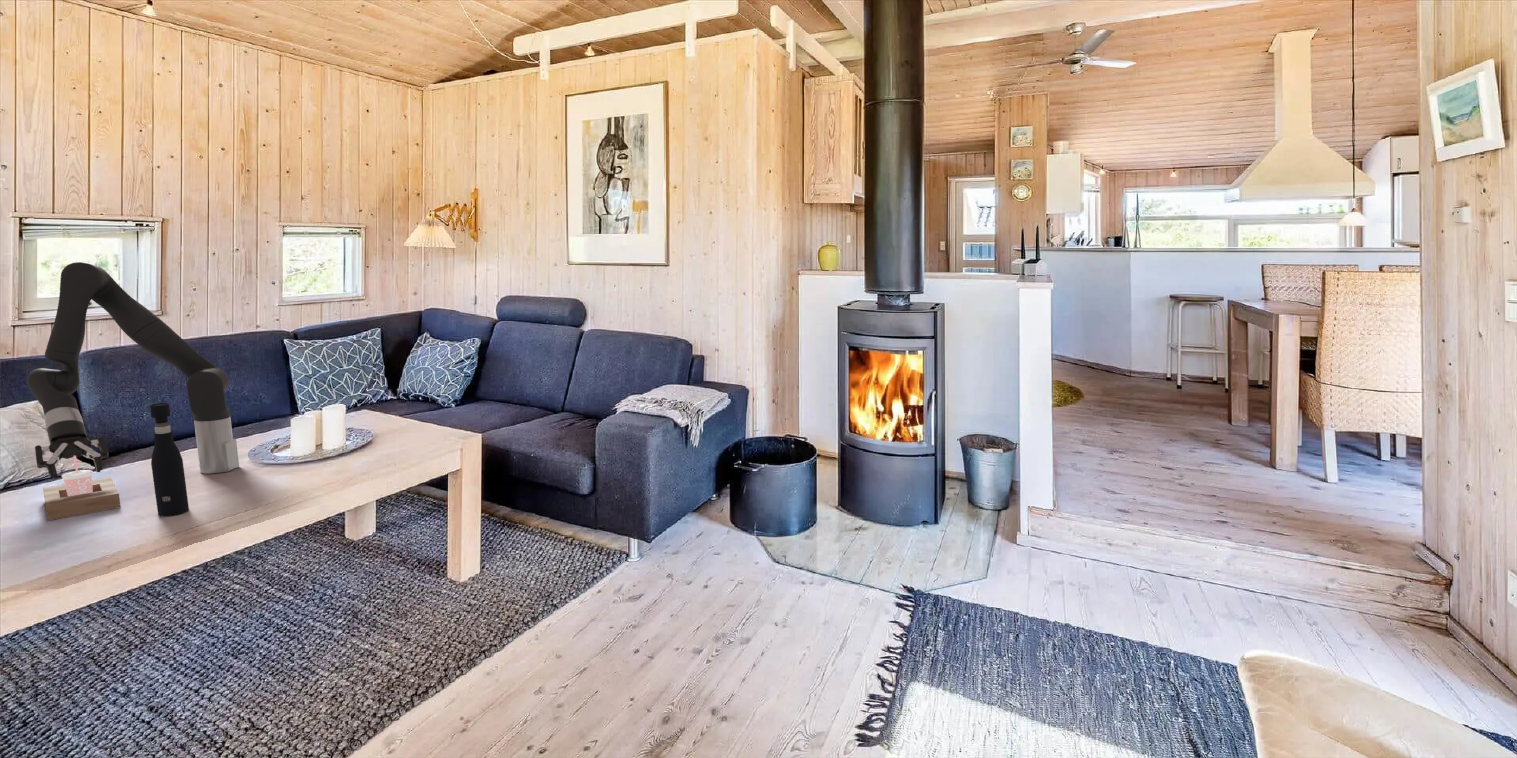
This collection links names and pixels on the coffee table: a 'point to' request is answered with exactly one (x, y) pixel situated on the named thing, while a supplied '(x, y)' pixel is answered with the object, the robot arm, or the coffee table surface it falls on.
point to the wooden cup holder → (81, 499)
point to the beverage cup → (78, 481)
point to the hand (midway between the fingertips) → (77, 474)
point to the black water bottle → (167, 466)
